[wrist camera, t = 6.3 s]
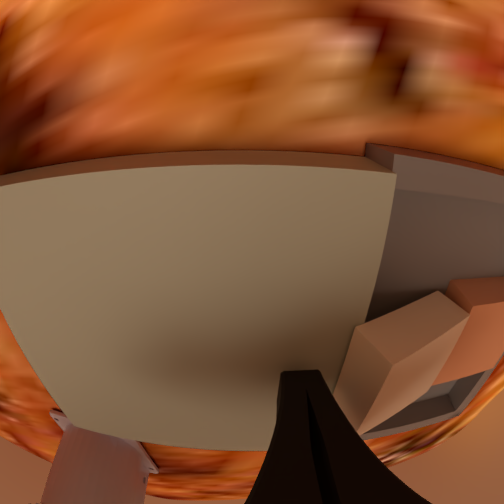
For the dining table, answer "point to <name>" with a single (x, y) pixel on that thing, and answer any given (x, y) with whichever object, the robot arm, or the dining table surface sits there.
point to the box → (436, 255)
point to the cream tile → (397, 359)
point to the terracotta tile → (476, 327)
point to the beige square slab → (189, 284)
